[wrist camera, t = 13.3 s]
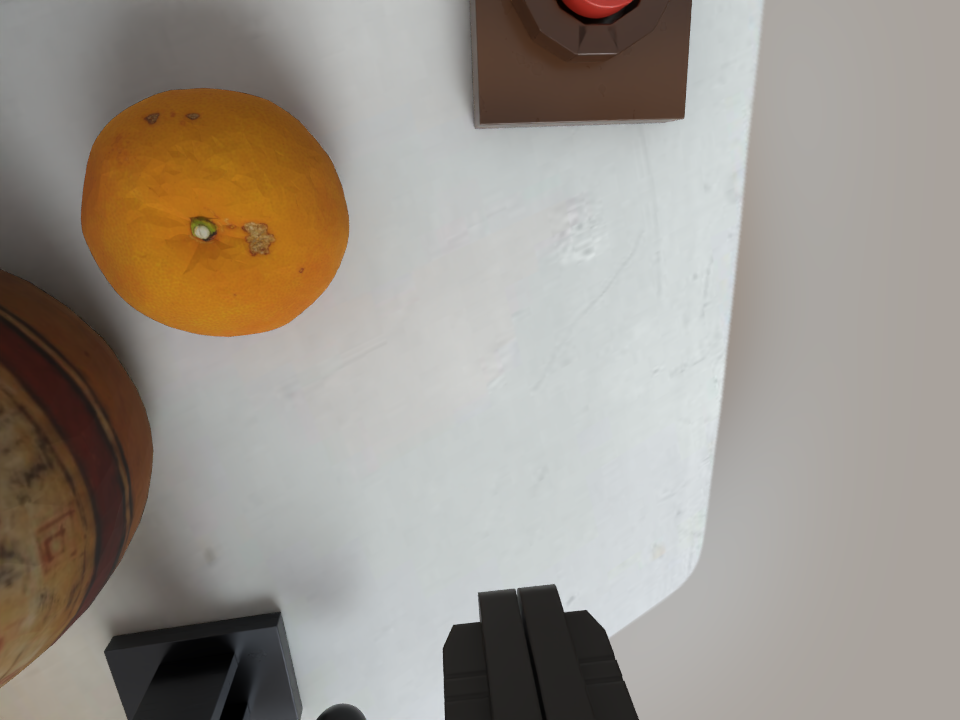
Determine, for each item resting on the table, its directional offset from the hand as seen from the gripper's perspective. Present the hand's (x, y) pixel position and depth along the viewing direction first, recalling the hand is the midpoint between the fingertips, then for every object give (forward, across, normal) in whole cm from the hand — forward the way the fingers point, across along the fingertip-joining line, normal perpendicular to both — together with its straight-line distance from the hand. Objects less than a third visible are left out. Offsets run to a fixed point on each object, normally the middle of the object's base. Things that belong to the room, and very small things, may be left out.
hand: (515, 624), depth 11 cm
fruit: (+22, +10, -6) cm, 25 cm away
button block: (+23, -7, -16) cm, 28 cm away
